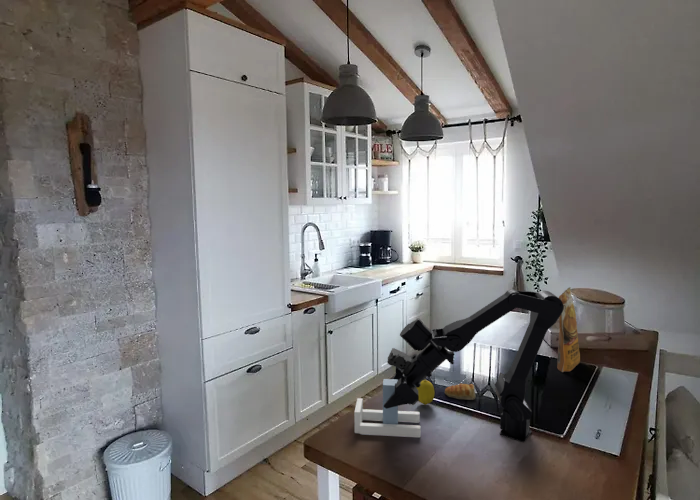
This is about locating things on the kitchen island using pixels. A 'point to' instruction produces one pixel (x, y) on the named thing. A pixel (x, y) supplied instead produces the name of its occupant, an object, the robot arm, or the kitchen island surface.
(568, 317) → the pancake mix bag
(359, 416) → the track
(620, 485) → the kitchen island surface
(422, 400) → the lemon
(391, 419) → the blue gray block
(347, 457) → the kitchen island surface
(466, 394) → the pastry
